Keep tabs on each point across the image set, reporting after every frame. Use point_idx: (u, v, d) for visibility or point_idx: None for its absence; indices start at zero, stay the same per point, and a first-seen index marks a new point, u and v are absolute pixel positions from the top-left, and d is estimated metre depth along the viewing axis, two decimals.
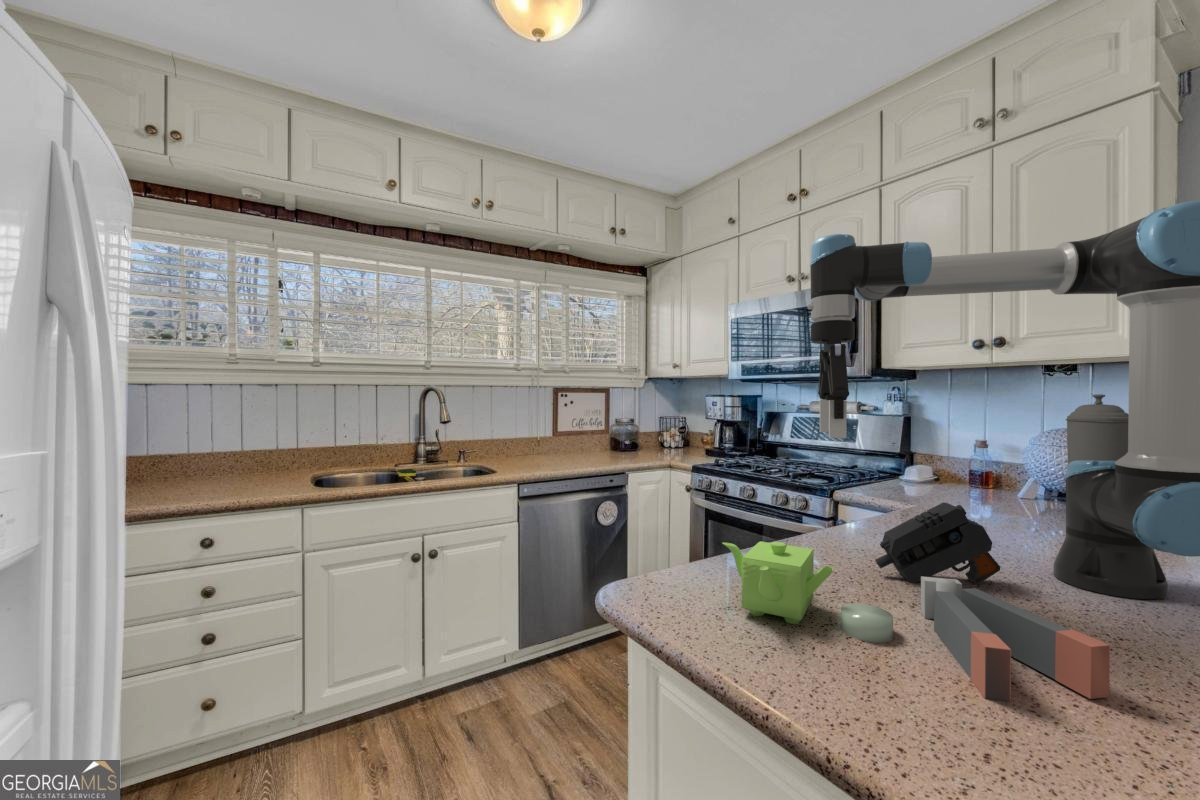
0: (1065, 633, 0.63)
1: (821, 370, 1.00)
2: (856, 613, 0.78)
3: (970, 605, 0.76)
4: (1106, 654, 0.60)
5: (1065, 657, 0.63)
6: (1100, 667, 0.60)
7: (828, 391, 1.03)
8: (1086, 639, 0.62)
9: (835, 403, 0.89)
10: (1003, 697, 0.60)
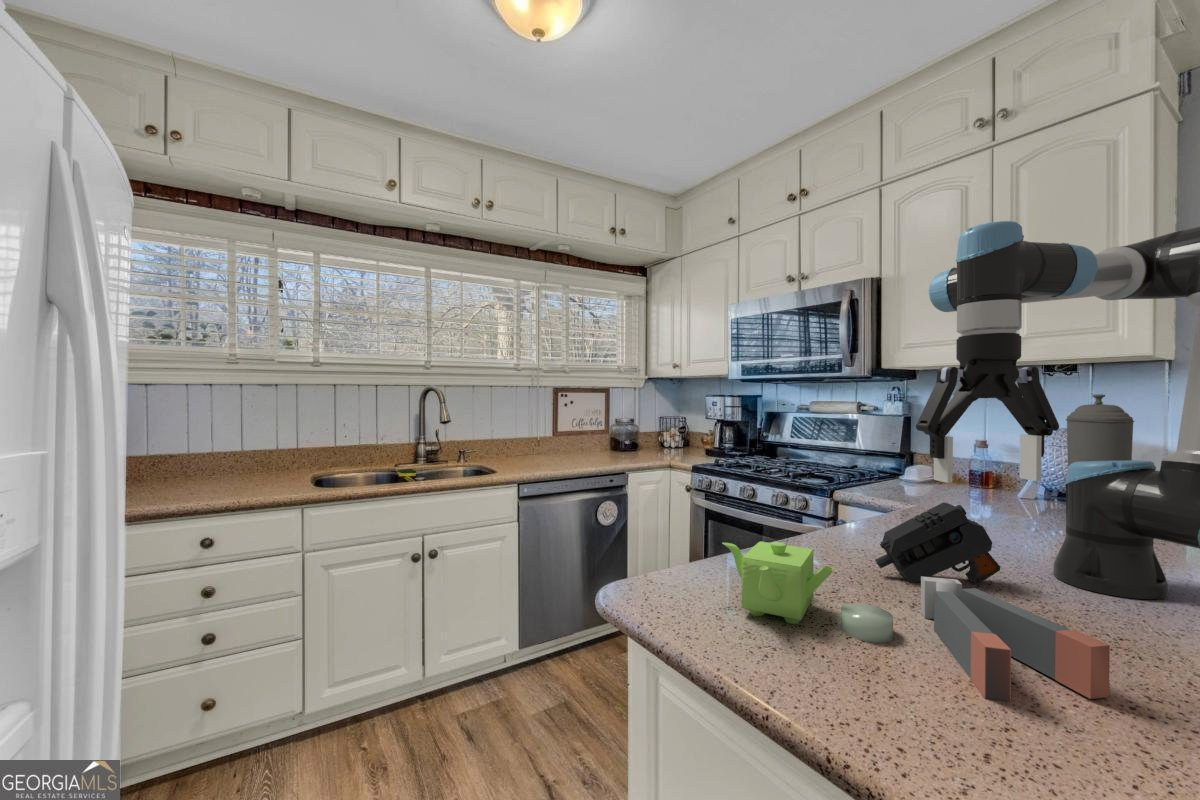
0: (1065, 633, 0.63)
1: None
2: (856, 613, 0.78)
3: (970, 605, 0.76)
4: (1106, 654, 0.60)
5: (1065, 657, 0.63)
6: (1100, 667, 0.60)
7: (1027, 424, 0.75)
8: (1086, 639, 0.62)
9: (931, 439, 0.75)
10: (1003, 697, 0.60)
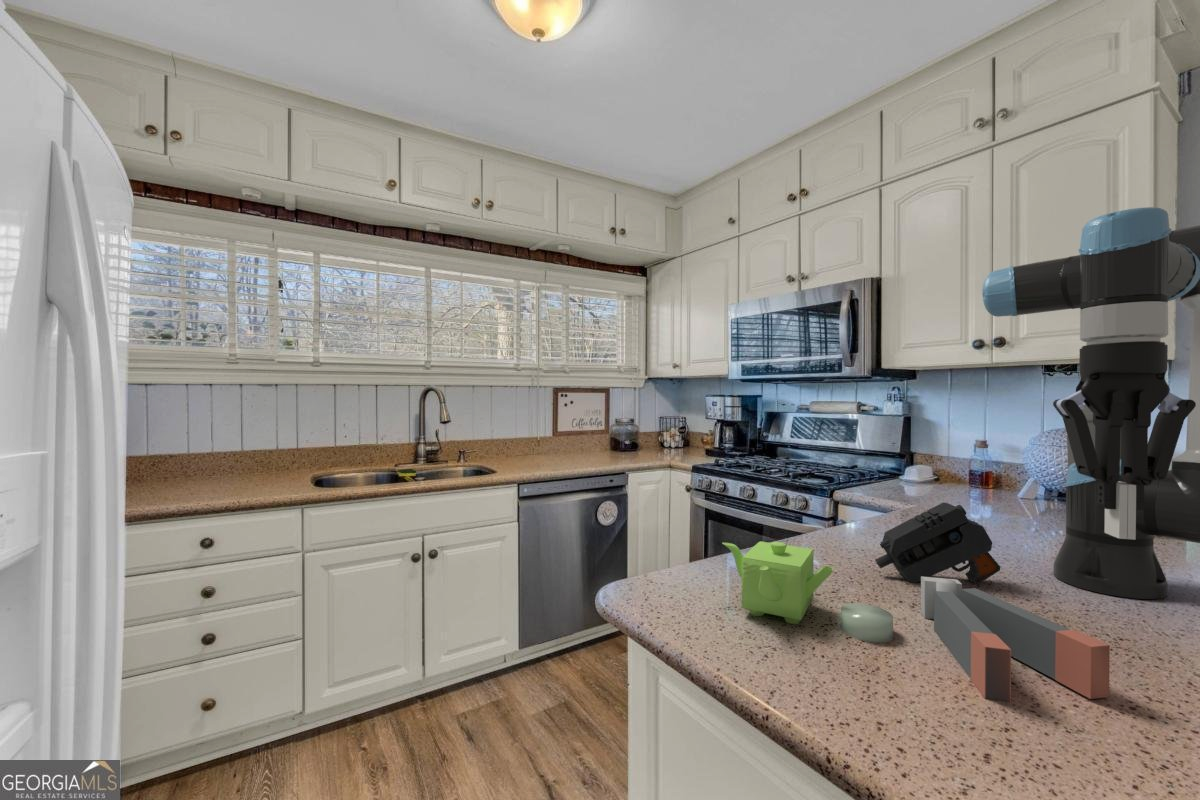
0: (1065, 633, 0.63)
1: None
2: (856, 613, 0.78)
3: (970, 605, 0.76)
4: (1106, 654, 0.60)
5: (1065, 657, 0.63)
6: (1100, 667, 0.60)
7: (1128, 463, 0.63)
8: (1086, 639, 0.62)
9: (1098, 485, 0.64)
10: (1003, 697, 0.60)
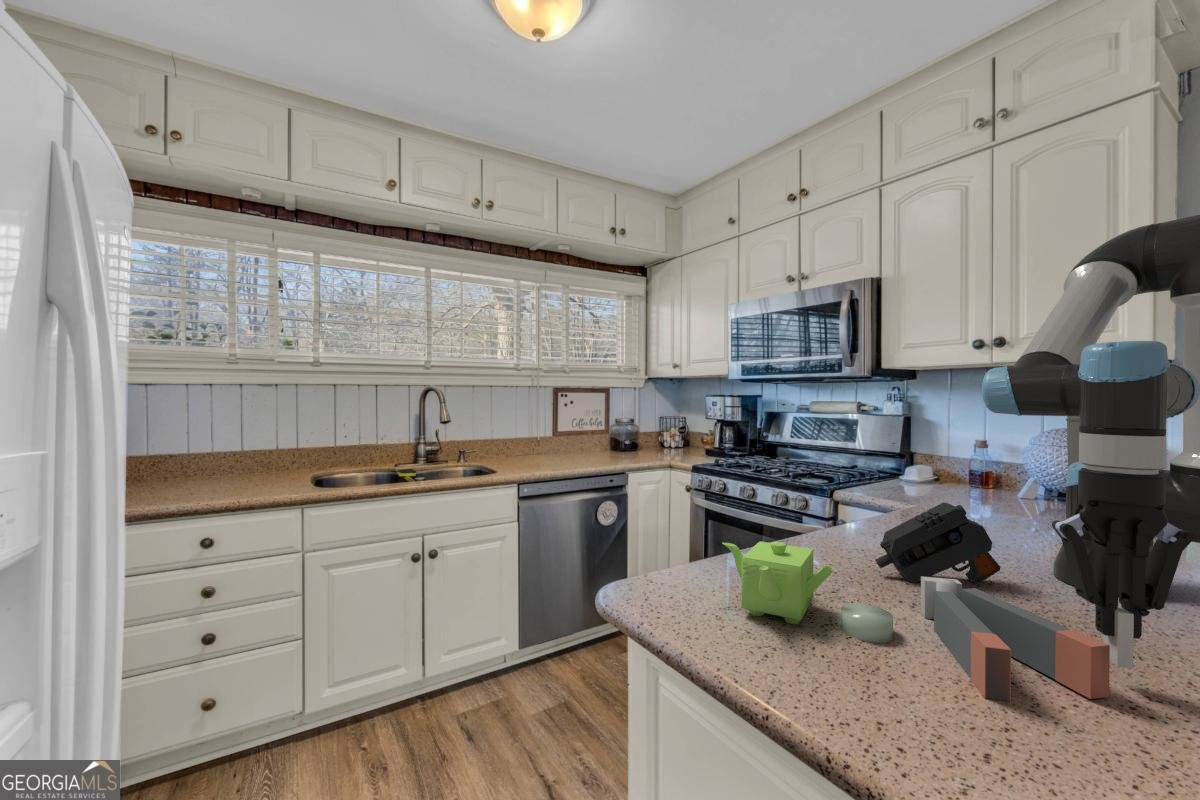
0: (1065, 633, 0.63)
1: None
2: (856, 613, 0.78)
3: (970, 605, 0.76)
4: (1106, 654, 0.60)
5: (1065, 657, 0.63)
6: (1100, 667, 0.60)
7: (1126, 590, 0.63)
8: (1086, 639, 0.62)
9: (1097, 609, 0.64)
10: (1003, 697, 0.60)
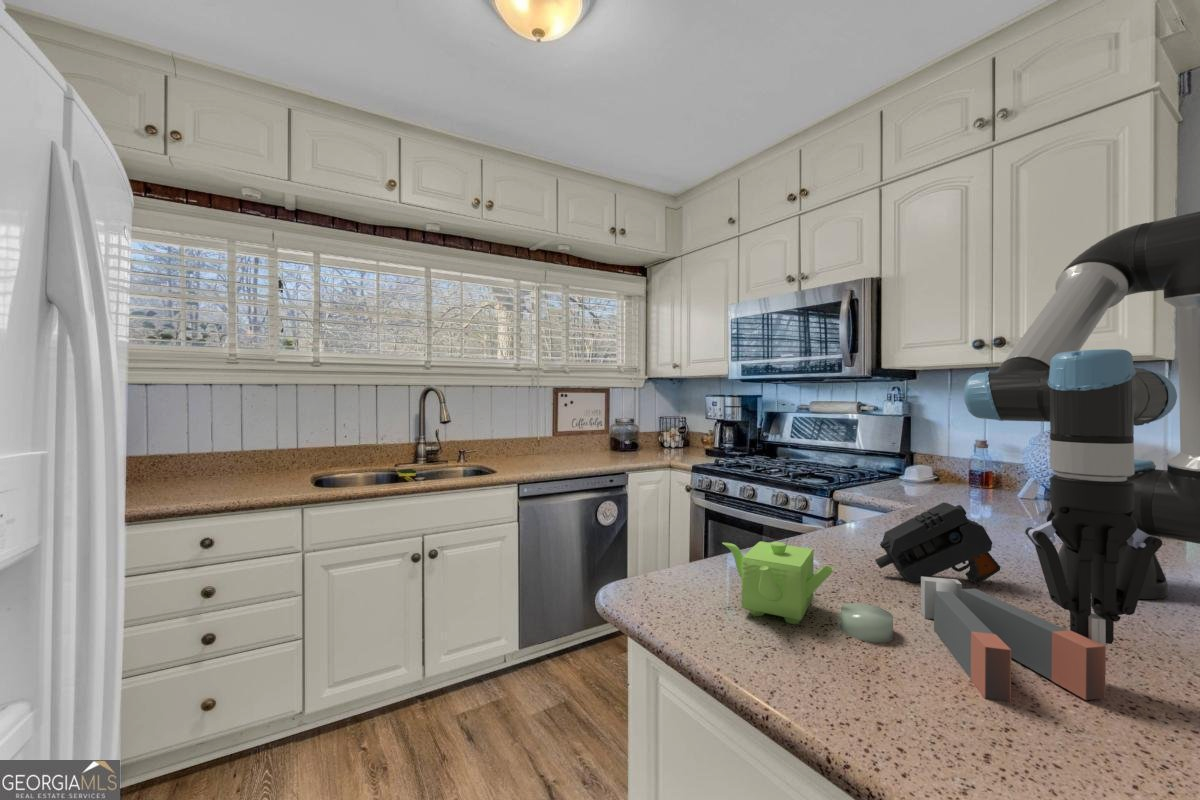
0: (1061, 634, 0.63)
1: None
2: (856, 613, 0.78)
3: (969, 605, 0.76)
4: (1102, 655, 0.60)
5: (1061, 658, 0.63)
6: (1095, 668, 0.60)
7: (1098, 596, 0.63)
8: (1082, 640, 0.62)
9: (1071, 615, 0.65)
10: (1003, 697, 0.60)
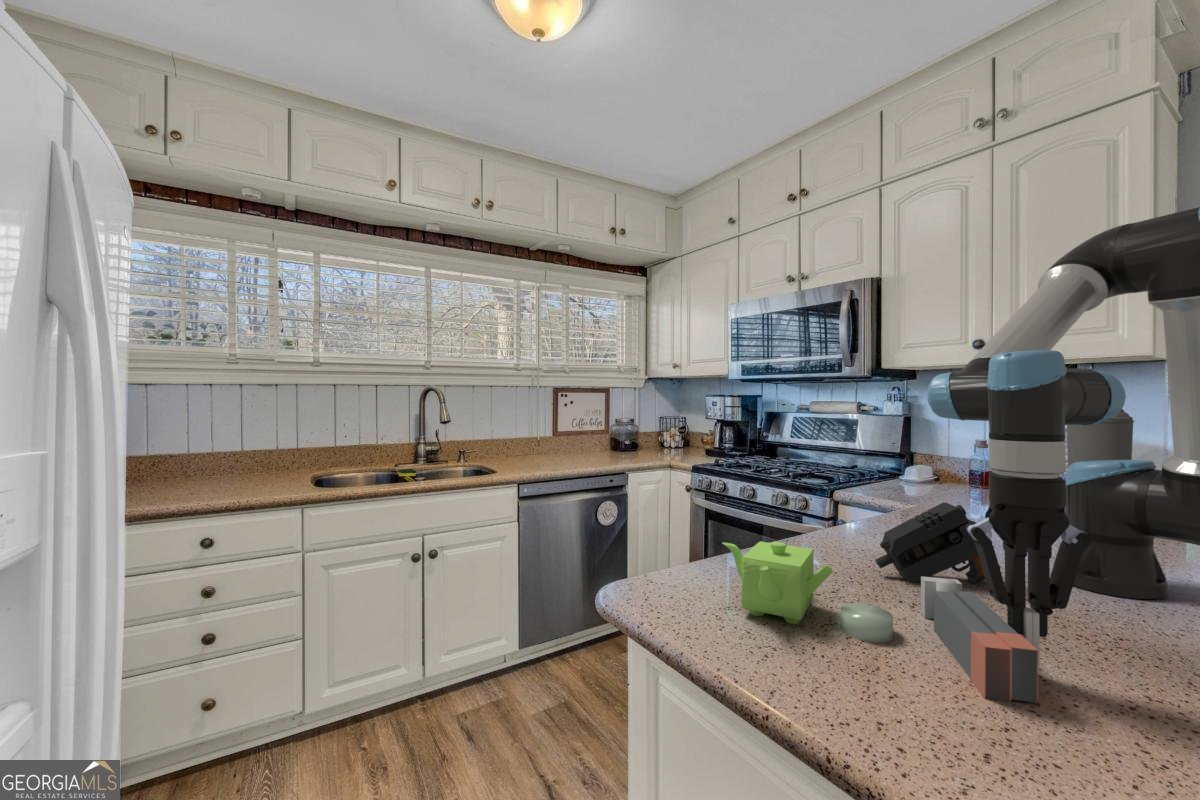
0: (1003, 634, 0.63)
1: None
2: (856, 613, 0.78)
3: None
4: (1033, 658, 0.59)
5: None
6: (1024, 670, 0.60)
7: (1033, 590, 0.65)
8: (1019, 642, 0.61)
9: (1008, 609, 0.66)
10: (1003, 697, 0.60)
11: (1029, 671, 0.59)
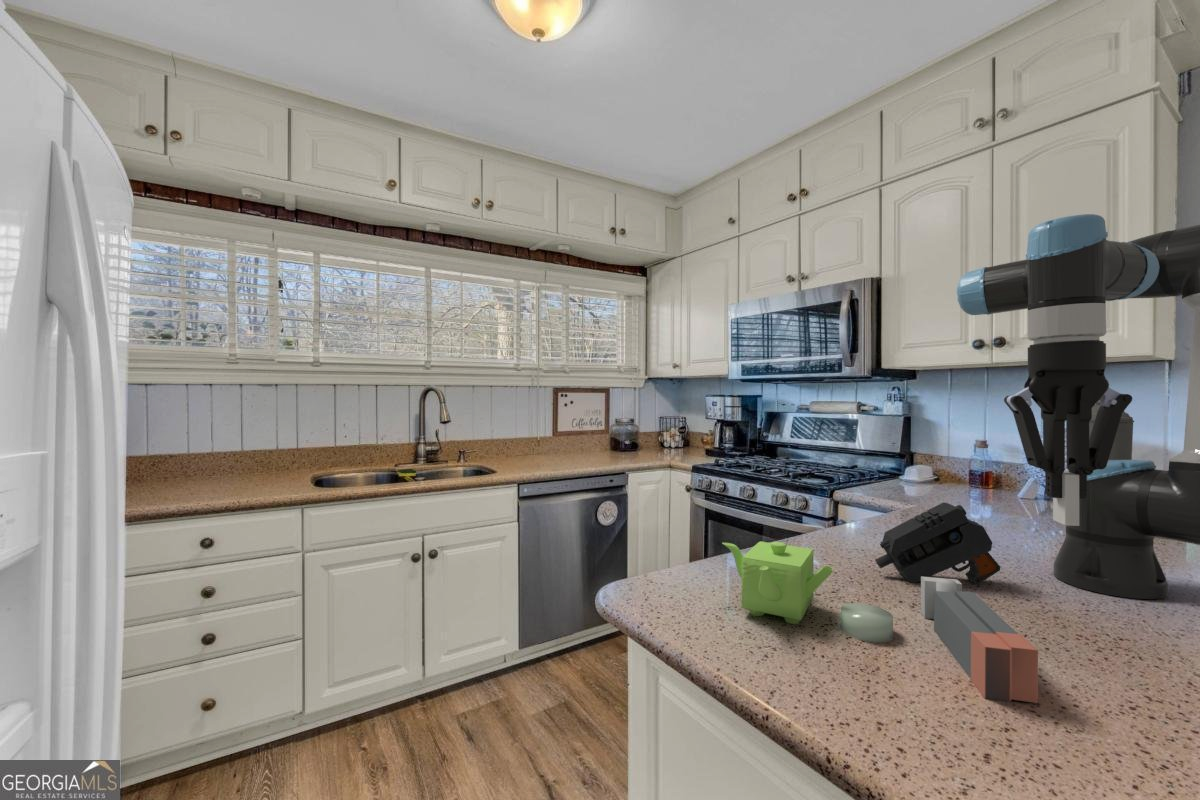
0: (1003, 634, 0.63)
1: None
2: (856, 613, 0.78)
3: None
4: (1033, 658, 0.59)
5: None
6: (1024, 670, 0.60)
7: (1072, 455, 0.67)
8: (1019, 642, 0.61)
9: (1046, 475, 0.68)
10: (1003, 697, 0.60)
11: (1029, 671, 0.59)
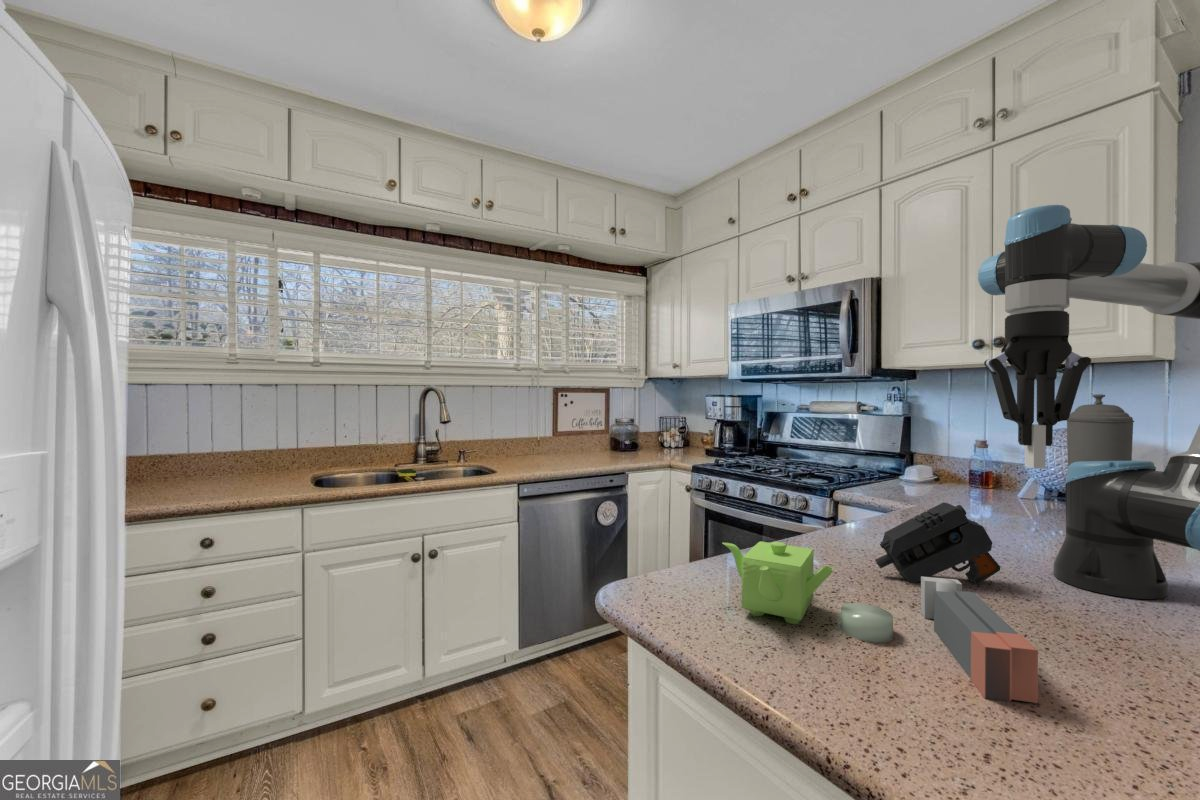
0: (1003, 634, 0.63)
1: (1035, 374, 0.80)
2: (856, 613, 0.78)
3: None
4: (1033, 658, 0.59)
5: None
6: (1024, 670, 0.60)
7: (1041, 409, 0.79)
8: (1019, 642, 0.61)
9: (1019, 427, 0.80)
10: (1003, 697, 0.60)
11: (1029, 671, 0.59)
